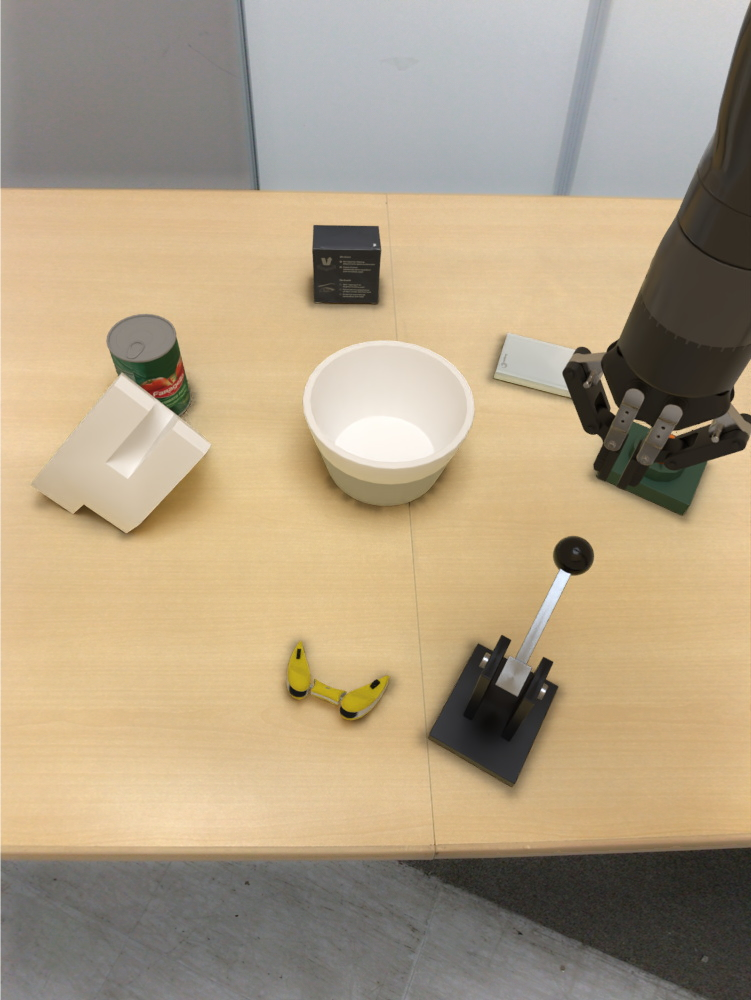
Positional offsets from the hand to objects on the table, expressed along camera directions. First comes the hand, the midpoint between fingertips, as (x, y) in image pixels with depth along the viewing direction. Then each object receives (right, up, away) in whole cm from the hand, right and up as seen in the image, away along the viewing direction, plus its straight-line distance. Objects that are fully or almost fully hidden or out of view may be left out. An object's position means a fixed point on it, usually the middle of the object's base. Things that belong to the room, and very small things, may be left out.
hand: (614, 476), depth 57 cm
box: (-23, +29, +52) cm, 63 cm away
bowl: (-17, +3, +34) cm, 39 cm away
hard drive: (+5, +16, +44) cm, 47 cm away
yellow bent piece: (-23, -21, +17) cm, 35 cm away
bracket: (-7, -23, +17) cm, 29 cm away
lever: (-3, -12, +11) cm, 17 cm away
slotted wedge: (-45, 0, +31) cm, 55 cm away
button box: (+16, +2, +35) cm, 38 cm away
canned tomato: (-46, +11, +38) cm, 61 cm away
